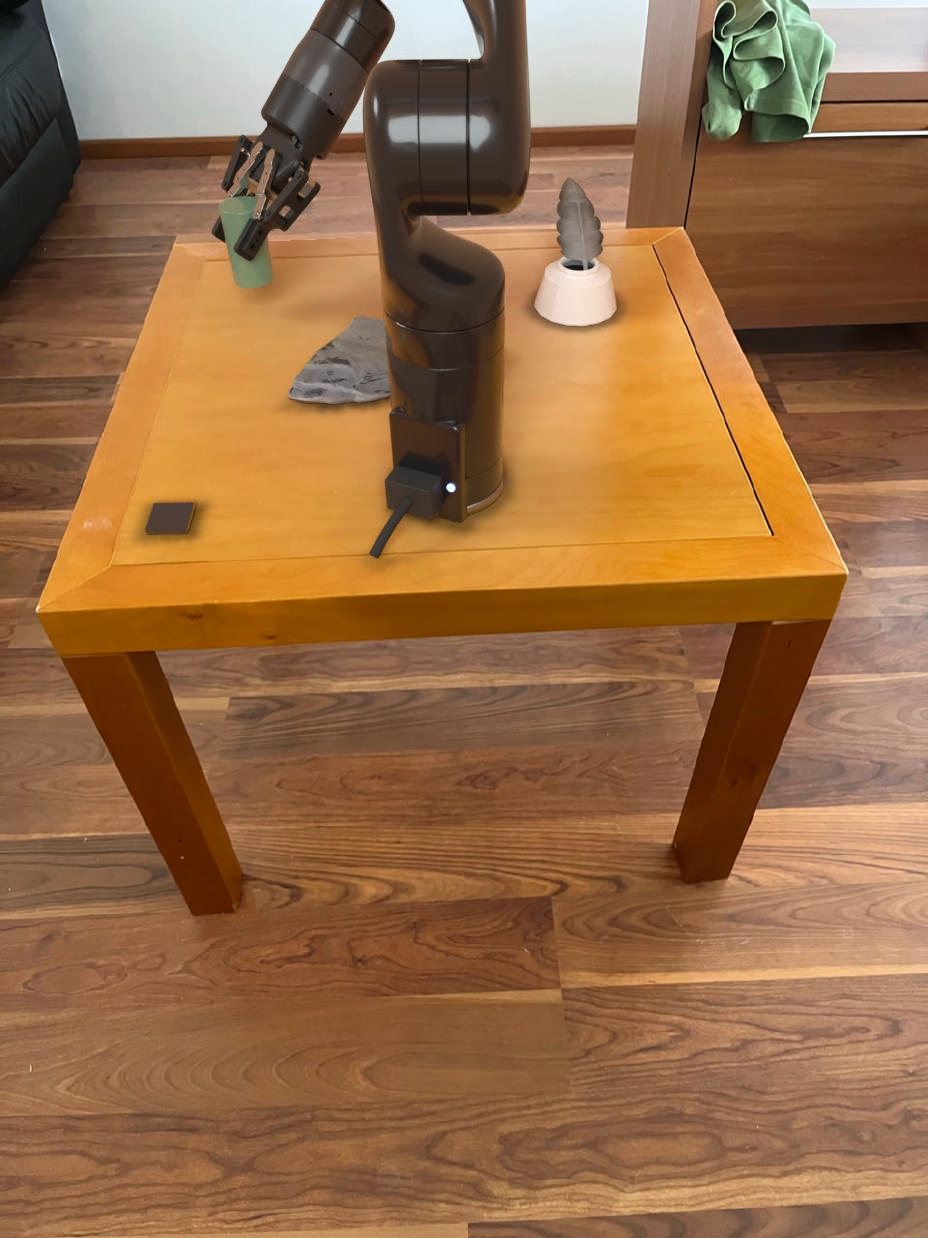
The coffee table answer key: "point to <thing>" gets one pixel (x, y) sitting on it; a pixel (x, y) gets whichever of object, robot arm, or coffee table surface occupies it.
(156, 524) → the coaster
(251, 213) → the sage green cylinder
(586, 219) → the inkwell
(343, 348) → the fossil rock
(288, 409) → the coffee table surface
